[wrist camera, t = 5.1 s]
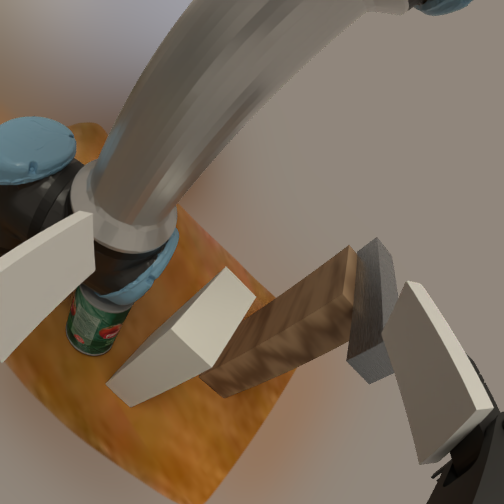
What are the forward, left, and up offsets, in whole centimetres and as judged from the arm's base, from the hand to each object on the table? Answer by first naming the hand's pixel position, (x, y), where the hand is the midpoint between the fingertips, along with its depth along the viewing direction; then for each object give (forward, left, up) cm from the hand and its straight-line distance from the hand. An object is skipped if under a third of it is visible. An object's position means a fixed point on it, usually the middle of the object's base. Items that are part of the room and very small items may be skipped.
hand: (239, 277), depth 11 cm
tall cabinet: (+15, +27, -36) cm, 47 cm away
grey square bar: (+16, +23, -6) cm, 28 cm away
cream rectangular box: (+3, +13, -36) cm, 39 cm away
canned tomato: (-6, +11, -36) cm, 38 cm away
